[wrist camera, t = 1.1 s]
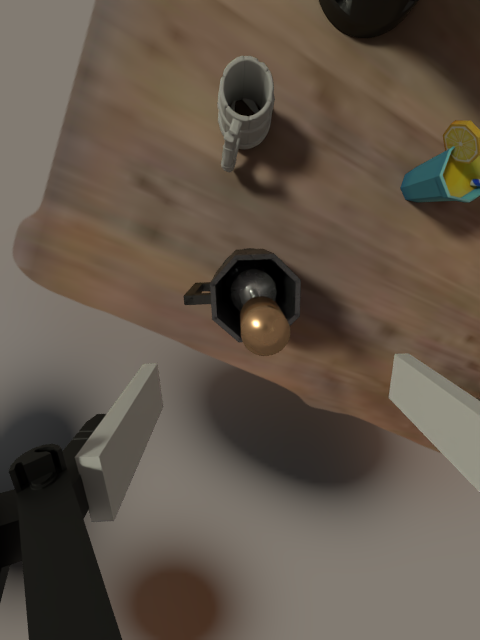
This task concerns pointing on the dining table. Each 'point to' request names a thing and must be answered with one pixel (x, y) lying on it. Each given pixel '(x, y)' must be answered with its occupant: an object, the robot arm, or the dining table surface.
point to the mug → (252, 87)
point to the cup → (448, 169)
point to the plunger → (259, 313)
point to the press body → (224, 277)
